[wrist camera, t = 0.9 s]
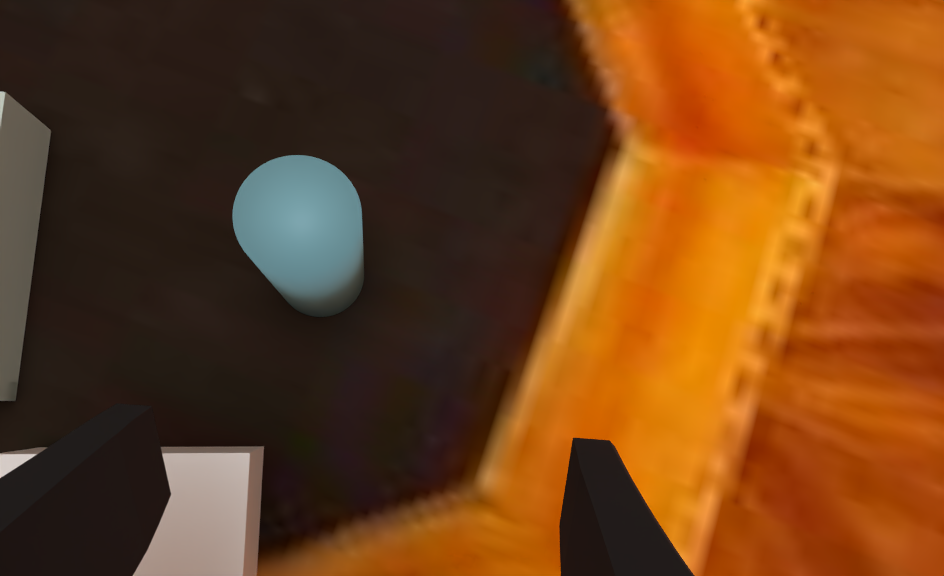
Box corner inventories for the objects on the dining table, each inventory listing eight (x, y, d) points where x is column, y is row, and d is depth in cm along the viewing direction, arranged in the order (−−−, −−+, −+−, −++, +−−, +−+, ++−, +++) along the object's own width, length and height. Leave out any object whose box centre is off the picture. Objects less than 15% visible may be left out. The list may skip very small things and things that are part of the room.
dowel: (362, 318, 24) (359, 280, 16) (274, 315, 23) (227, 273, 16) (365, 236, 24) (364, 160, 17) (280, 231, 24) (237, 150, 16)
